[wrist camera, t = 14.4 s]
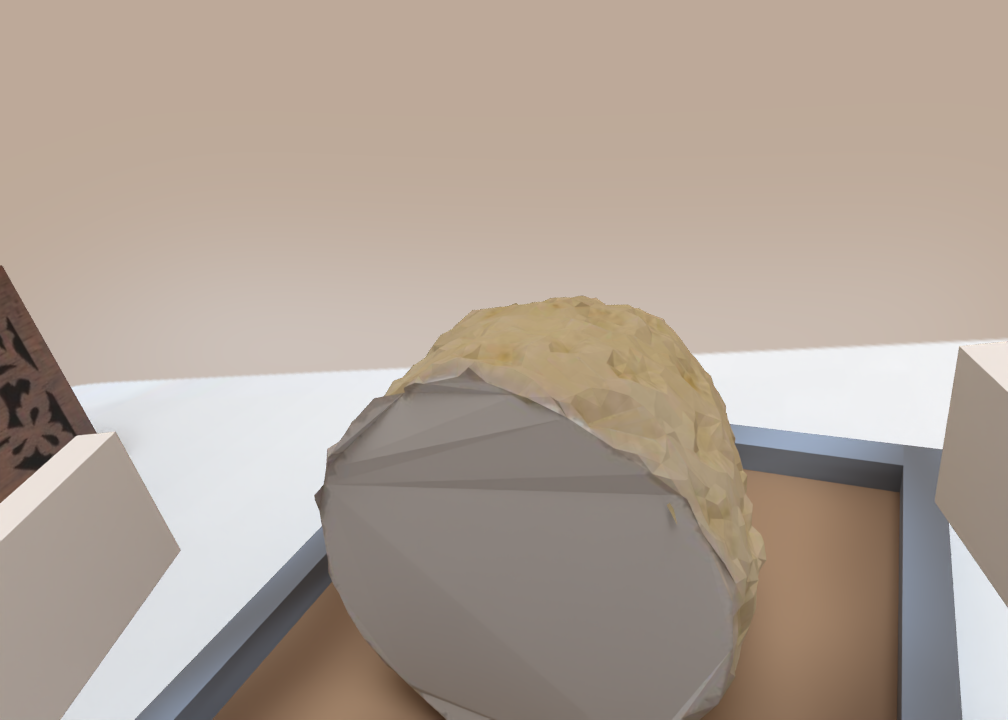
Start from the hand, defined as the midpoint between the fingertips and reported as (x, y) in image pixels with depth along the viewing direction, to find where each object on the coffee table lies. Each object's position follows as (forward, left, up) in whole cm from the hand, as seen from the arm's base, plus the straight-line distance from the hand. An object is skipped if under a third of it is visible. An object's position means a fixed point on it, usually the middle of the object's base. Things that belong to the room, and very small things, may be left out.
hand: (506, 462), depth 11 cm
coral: (-1, +3, -8) cm, 9 cm away
